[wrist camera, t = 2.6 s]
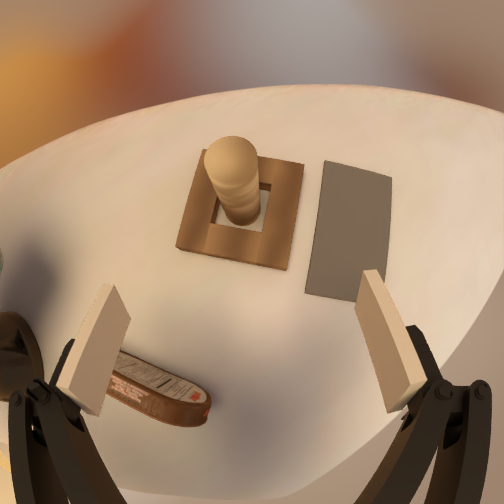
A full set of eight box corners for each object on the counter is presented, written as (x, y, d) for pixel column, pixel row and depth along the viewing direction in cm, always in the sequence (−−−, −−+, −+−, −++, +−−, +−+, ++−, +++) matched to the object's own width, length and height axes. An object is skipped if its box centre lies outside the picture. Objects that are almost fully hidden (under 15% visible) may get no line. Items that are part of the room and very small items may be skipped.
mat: (304, 293, 30) (305, 293, 29) (324, 162, 32) (325, 160, 32) (379, 306, 29) (380, 306, 28) (390, 178, 32) (391, 177, 31)
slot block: (180, 249, 31) (175, 246, 29) (205, 156, 33) (202, 149, 31) (285, 270, 30) (286, 268, 28) (302, 172, 32) (304, 164, 30)
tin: (102, 359, 29) (62, 371, 21) (107, 337, 30) (66, 344, 22) (212, 409, 28) (196, 442, 20) (220, 387, 28) (205, 415, 20)
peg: (221, 222, 32) (197, 177, 20) (229, 190, 32) (211, 133, 20) (256, 228, 31) (251, 186, 19) (263, 195, 32) (261, 139, 20)
